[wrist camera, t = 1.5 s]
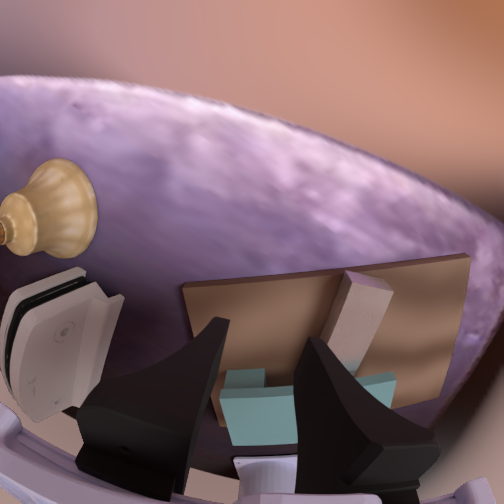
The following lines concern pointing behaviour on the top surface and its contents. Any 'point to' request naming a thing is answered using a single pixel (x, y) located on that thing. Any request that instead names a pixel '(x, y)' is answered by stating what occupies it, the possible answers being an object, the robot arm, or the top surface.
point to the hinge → (56, 342)
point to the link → (355, 317)
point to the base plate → (316, 313)
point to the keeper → (276, 406)
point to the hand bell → (51, 212)
